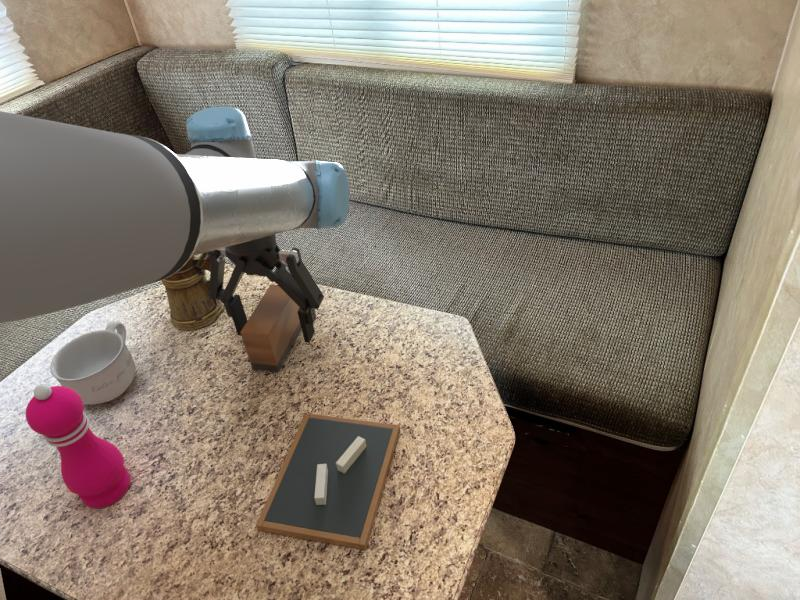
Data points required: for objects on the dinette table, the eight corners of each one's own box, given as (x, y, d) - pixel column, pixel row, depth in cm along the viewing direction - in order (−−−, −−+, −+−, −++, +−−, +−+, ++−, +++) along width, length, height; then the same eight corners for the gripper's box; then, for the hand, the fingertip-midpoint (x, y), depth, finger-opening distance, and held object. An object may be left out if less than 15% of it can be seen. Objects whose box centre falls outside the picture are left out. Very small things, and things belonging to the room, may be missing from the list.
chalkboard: (366, 550, 72) (364, 545, 71) (257, 530, 75) (255, 525, 74) (400, 430, 85) (399, 424, 84) (307, 417, 88) (305, 412, 88)
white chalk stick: (344, 474, 79) (342, 466, 78) (337, 470, 79) (335, 462, 78) (366, 446, 82) (365, 439, 81) (359, 443, 83) (358, 435, 82)
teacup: (110, 421, 91) (89, 385, 86) (55, 406, 94) (31, 370, 89) (167, 358, 101) (151, 322, 96) (116, 346, 104) (97, 310, 99)
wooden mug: (241, 327, 105) (213, 241, 94) (165, 332, 106) (128, 247, 95) (251, 295, 112) (226, 211, 101) (179, 299, 113) (146, 216, 101)
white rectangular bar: (325, 504, 76) (323, 497, 75) (316, 505, 76) (314, 498, 75) (328, 470, 79) (326, 463, 78) (319, 471, 79) (317, 464, 78)
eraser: (278, 372, 96) (267, 335, 91) (252, 369, 97) (239, 332, 92) (304, 322, 105) (296, 286, 100) (280, 320, 106) (270, 284, 101)
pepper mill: (110, 518, 78) (39, 417, 65) (66, 504, 80) (-10, 404, 67) (145, 472, 83) (86, 370, 71) (103, 460, 85) (38, 359, 73)
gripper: (330, 209, 86) (351, 325, 99) (182, 201, 91) (221, 312, 105) (313, 238, 80) (337, 357, 94) (156, 228, 85) (201, 342, 99)
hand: (276, 333), depth 99 cm, fingers open, 11 cm apart
